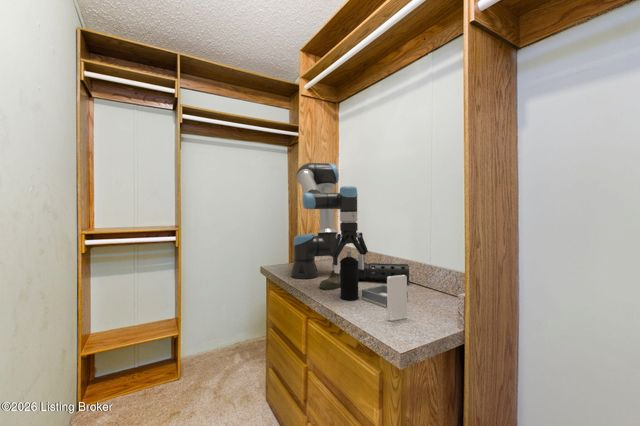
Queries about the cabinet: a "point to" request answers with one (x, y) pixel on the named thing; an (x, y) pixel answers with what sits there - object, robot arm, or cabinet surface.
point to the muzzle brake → (382, 271)
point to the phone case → (397, 297)
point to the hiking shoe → (331, 281)
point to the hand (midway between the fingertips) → (349, 271)
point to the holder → (376, 295)
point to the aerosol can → (349, 278)
